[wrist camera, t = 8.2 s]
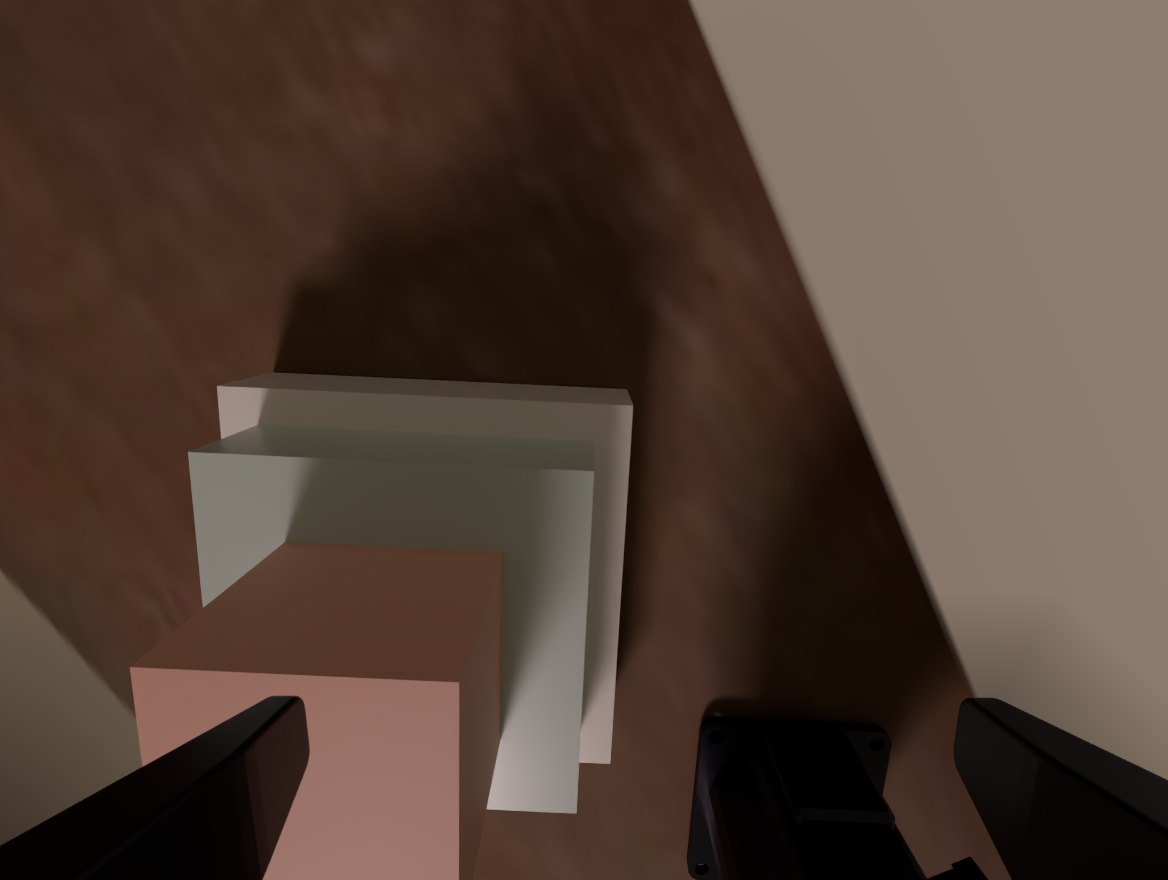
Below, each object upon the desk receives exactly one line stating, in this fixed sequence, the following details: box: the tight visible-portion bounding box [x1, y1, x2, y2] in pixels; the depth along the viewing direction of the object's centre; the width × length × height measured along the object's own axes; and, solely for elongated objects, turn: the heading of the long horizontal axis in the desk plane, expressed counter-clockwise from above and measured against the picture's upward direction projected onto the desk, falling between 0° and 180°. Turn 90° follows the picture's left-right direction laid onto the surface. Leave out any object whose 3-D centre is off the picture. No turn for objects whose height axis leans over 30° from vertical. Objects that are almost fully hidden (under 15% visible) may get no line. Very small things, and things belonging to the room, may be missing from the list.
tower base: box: [188, 372, 633, 813], centre depth 18 cm, size 11×11×6 cm
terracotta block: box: [130, 542, 503, 880], centre depth 13 cm, size 5×5×5 cm
